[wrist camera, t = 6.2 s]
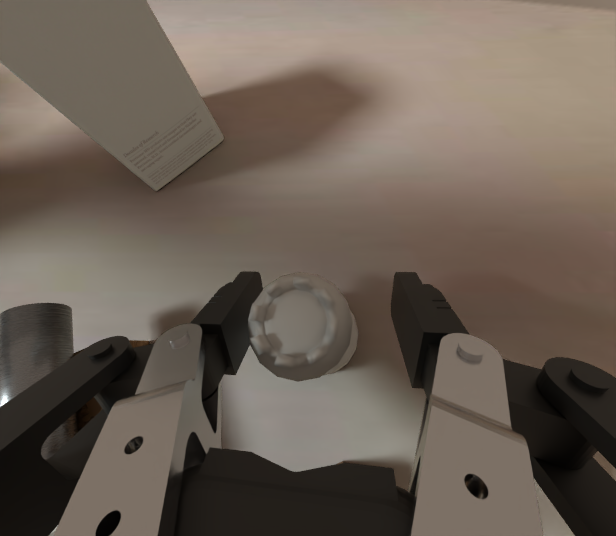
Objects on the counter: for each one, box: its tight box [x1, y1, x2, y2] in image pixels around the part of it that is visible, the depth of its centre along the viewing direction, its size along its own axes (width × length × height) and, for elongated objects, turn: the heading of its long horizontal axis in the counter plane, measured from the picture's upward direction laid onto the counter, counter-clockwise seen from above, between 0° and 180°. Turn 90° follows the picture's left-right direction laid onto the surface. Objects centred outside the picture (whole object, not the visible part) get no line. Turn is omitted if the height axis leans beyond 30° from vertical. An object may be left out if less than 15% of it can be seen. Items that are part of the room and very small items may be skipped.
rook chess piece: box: [248, 272, 359, 381], centre depth 10 cm, size 4×4×8 cm
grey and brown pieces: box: [0, 303, 344, 536], centre depth 10 cm, size 19×17×5 cm
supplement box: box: [0, 0, 224, 191], centre depth 15 cm, size 7×7×13 cm
